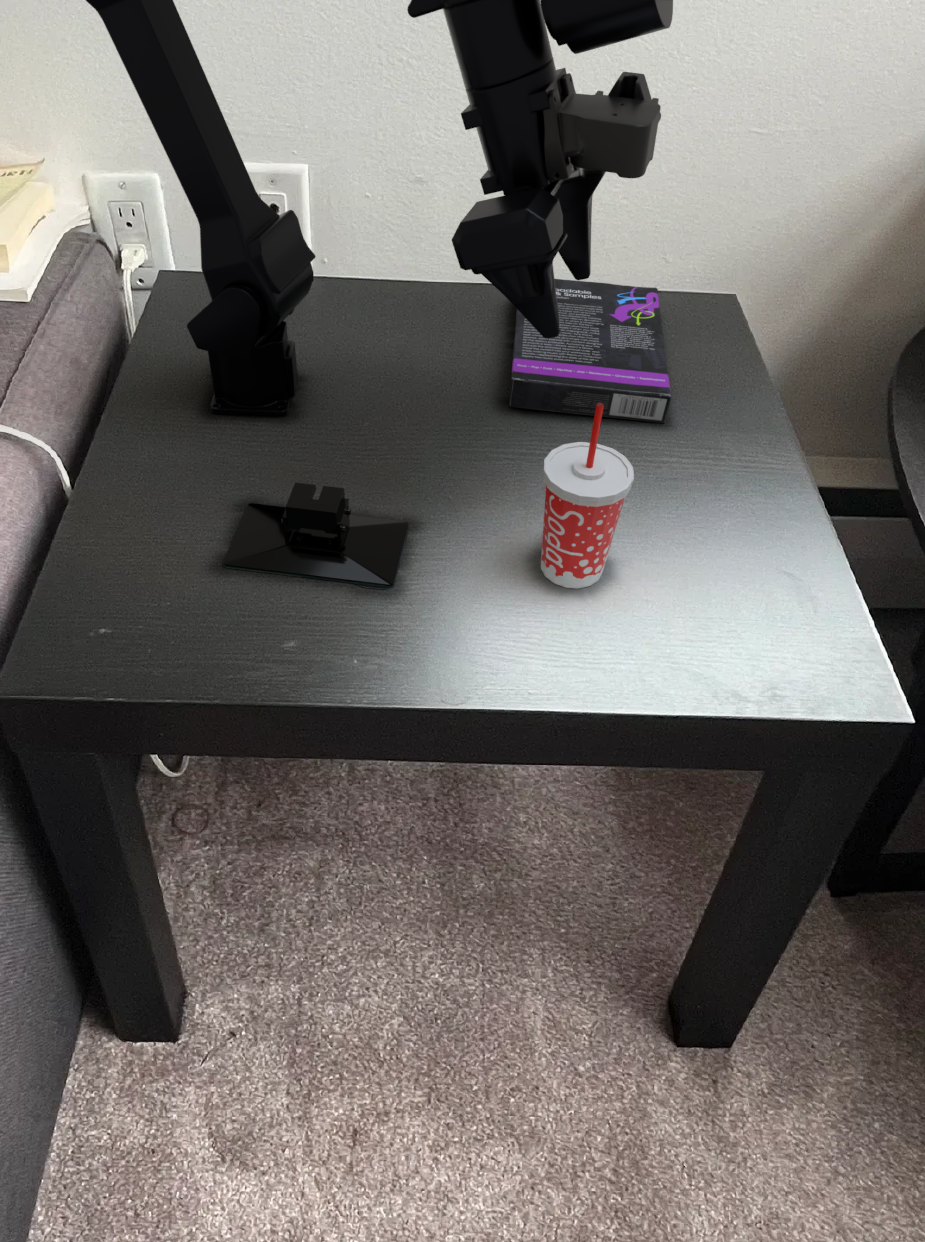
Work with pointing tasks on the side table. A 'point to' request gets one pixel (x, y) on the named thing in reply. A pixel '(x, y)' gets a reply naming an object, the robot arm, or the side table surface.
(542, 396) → the box
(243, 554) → the build plate
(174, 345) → the side table surface
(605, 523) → the beverage cup
